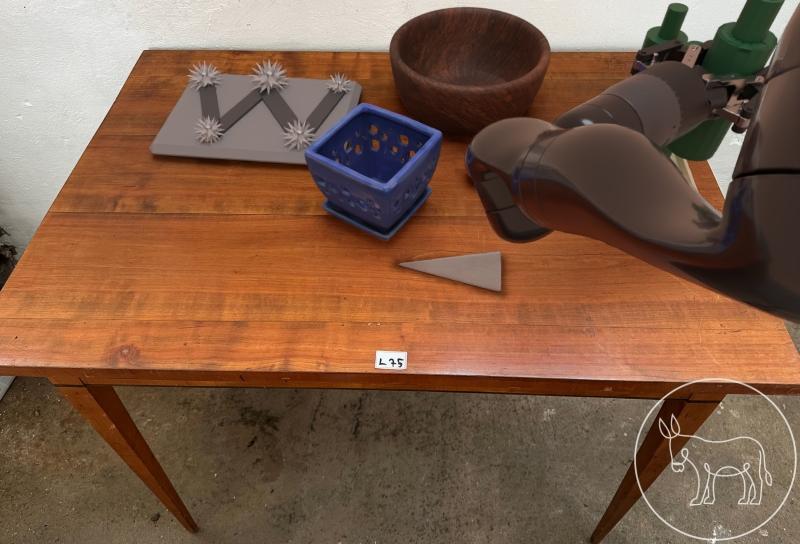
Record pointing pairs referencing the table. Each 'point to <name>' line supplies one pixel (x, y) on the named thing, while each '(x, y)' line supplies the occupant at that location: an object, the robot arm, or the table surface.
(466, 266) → the grey triangular spike
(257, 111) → the cassiopeia constellation model
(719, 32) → the bottle
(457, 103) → the wooden bowl
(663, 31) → the row bottle
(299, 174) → the table surface
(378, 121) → the flower pot
